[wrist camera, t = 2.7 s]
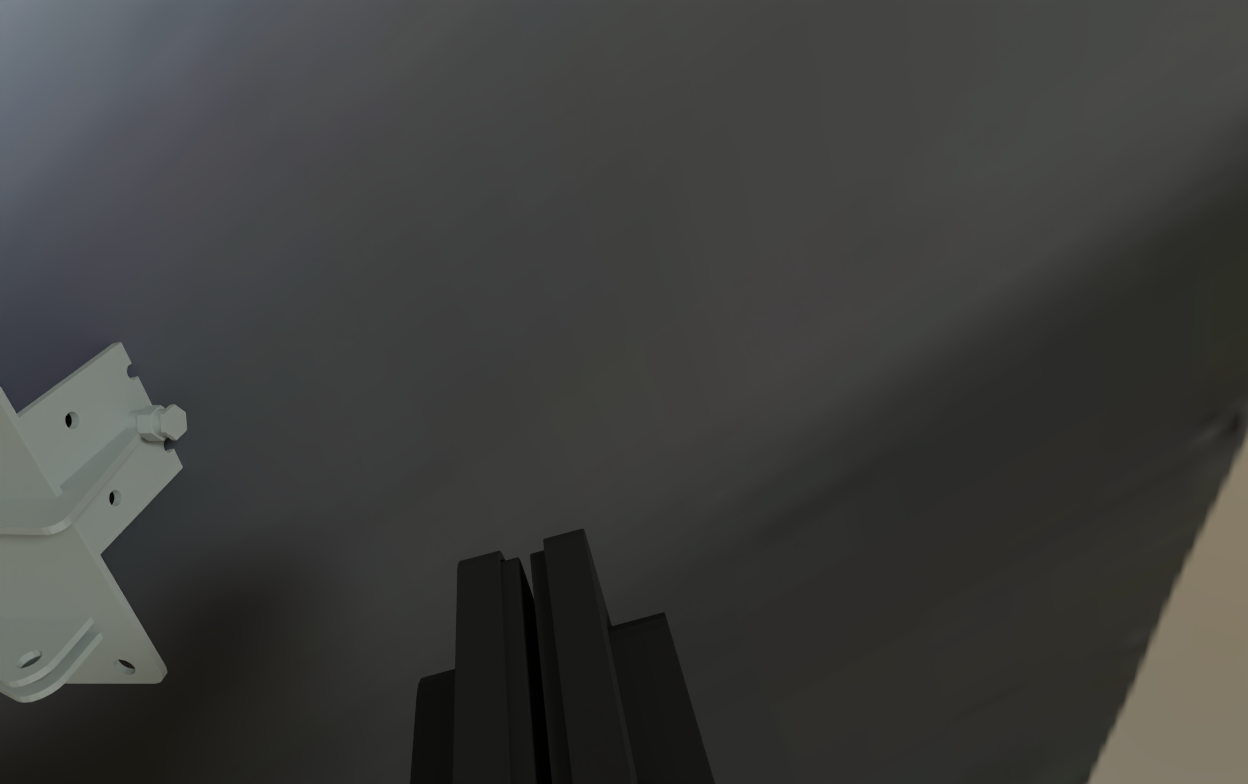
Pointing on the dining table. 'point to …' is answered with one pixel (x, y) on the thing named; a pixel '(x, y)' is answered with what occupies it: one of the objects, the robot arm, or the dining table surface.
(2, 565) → the metal bracket
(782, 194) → the dining table surface
